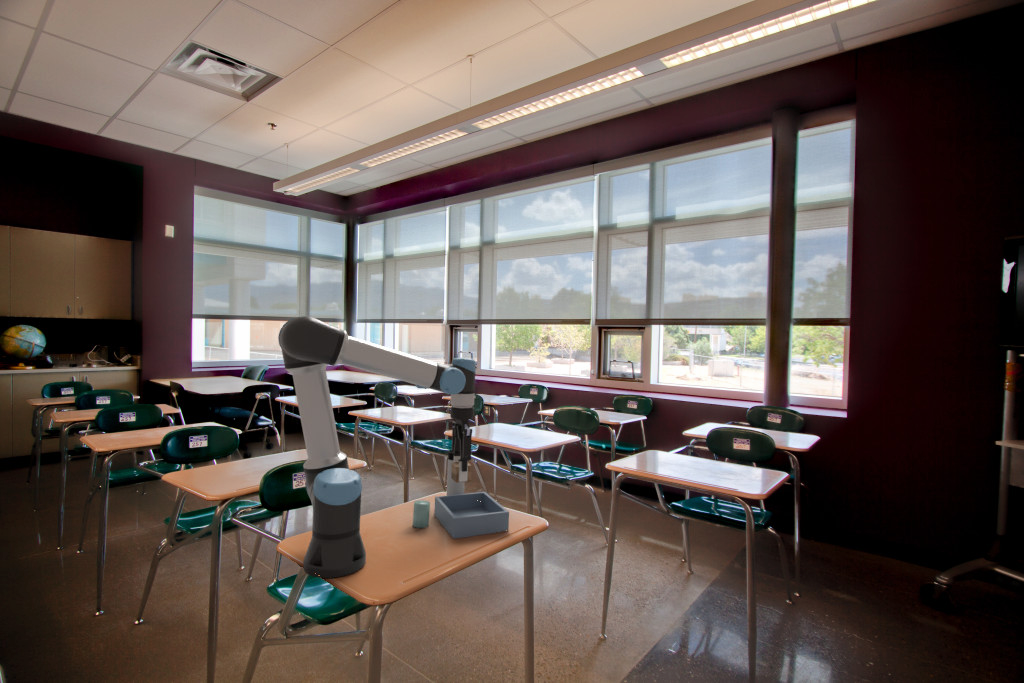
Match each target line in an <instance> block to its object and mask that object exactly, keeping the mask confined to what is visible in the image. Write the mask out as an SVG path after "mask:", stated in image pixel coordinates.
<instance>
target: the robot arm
mask: <svg viewBox="0 0 1024 683" xmlns="http://www.w3.org/2000/svg"><path fill="white" fill-rule="evenodd" d="M277 338H278V345H279V347H280V349H281V353H282V358H283V359H282V360H283V363H284V370H285V371H287V372H288V373H290V374H291V375H292V380H293V385H294V391H295V395H296V402H297V407H298V412H299V417H300V423H301V428H302V433H303V439H304V444H305V449H306V455H307V459H306V461H305V462H304V463H303V465H302V466H303V472H304V476H305V477H304V478H305V490H306V492H307V495H308V497H309V500H310V503H311V506H312V524H311V525H312V526H311V528H312V531H311V539H310V542H309V545H308V547H307V550H306V552H305V556H304V557H303V571H304V573H306V575H309V576H312V577H315V578H319V579H333V578H340V577H345V576H348V575H352V574H353V573H357V572H358V571H360V570H361V569H362V568H363V567H365V565H366V563H367V562H366V560H367V558H366V557H367V553H366V548H365V546H364V541H363V539H362V538H363V537H362V535H361V510H362V509H361V507H362V506H361V505H362V490H363V485H362V484H363V483H362V477H361V475H360V474H359V473H358V472H357V471H356V470H354V469H350V467H349V462H348V455H347V453H344V452H343V451H342V450H340V449H341V448H340V443H339V436H338V432H337V426H336V421H335V414H334V410H333V404H332V398H331V393H330V387H329V381H328V375H327V370H326V369H327V367H328V365H329V366H332V367H336V366H338V365H339V364H340V365H344V366H348V367H351V368H355V369H358V370H362V371H365V372H369V373H373V374H376V375H380V376H384V377H387V378H391V379H395V380H398V381H402V382H405V383H409V384H413V385H414V386H415V387H416V389H423V390H427V389H431V390H433V391H438V392H441V393H444V394H446V395H450V405H451V407H450V412H449V414H450V419H452V420H454V422H451V428H452V429H451V432H452V433H451V450H450V451H452V452H453V455H454V463H456V462H459V482H463V481H467V478H468V463H469V461H471V460H472V436H473V428H470V424H469V422H470V420H473V419H474V417H475V407H474V405H475V399H476V398H477V397H476V395H475V392H476V391H475V389H476V388H475V386H476V373H477V372H476V371H477V370H476V361H475V360H474V358H469V357H454V358H452V360H451V363H448V364H445V363H443V364H442V363H438V362H435V361H432V360H429V359H427V358H426V359H425V358H424V357H423V358H422V357H419V356H416V355H412V354H410V353H406V352H404V351H400V350H396V349H393V348H389V347H387V346H383V345H380V344H376V343H373V342H370V341H368V340H364V339H360V338H357V337H354V336H351V335H349V334H348V332H347V331H346V330H345V329H341V328H338V327H335V326H334V325H331V324H328V323H326V322H324V321H322V320H319V319H317V317H312V316H307V315H306V316H303V315H302V316H297V317H293V318H290V319H289V320H288V321H286V322H285V323H284V324H283V325H282V326H281V328H280V330H279V333H278V337H277ZM315 573H316V574H315ZM318 575H320V576H318ZM322 577H323V578H322Z"/></svg>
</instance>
